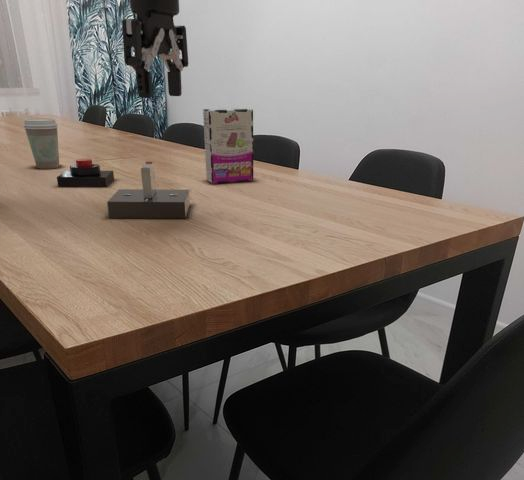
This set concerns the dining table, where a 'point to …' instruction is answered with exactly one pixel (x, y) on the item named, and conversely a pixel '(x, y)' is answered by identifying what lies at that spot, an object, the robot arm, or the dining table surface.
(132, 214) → the dark grey base plate
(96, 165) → the push button base
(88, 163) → the power button
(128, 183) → the dining table surface
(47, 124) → the coffee cup
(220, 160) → the candy bar box
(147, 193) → the knob
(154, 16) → the robot arm
